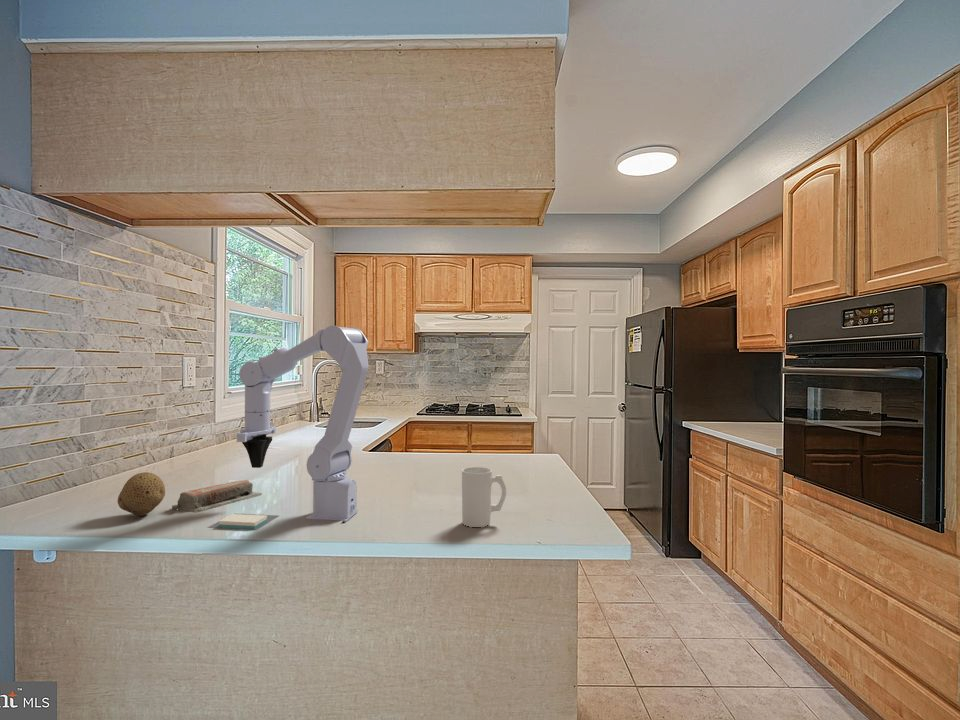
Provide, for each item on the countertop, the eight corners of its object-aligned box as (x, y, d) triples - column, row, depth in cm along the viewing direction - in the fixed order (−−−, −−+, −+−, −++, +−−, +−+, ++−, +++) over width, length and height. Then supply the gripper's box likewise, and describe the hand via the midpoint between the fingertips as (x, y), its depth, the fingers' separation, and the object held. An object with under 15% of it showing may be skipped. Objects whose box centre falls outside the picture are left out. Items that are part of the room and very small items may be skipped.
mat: (279, 518, 120) (279, 515, 120) (256, 532, 110) (256, 529, 110) (234, 516, 122) (234, 513, 122) (207, 530, 112) (207, 527, 112)
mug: (461, 528, 114) (461, 473, 114) (461, 519, 121) (461, 466, 121) (507, 528, 115) (507, 473, 115) (504, 518, 122) (505, 467, 122)
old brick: (197, 496, 122) (171, 490, 127) (197, 517, 122) (171, 510, 127) (262, 480, 138) (237, 476, 143) (262, 499, 138) (237, 494, 143)
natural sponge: (171, 515, 121) (172, 472, 121) (127, 524, 115) (127, 479, 114) (157, 508, 127) (157, 466, 127) (113, 516, 120) (114, 472, 120)
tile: (267, 515, 116) (254, 522, 111) (267, 521, 116) (254, 529, 111) (232, 513, 117) (219, 520, 112) (232, 520, 117) (219, 527, 112)
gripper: (257, 408, 136) (257, 460, 136) (224, 414, 121) (224, 473, 122) (283, 408, 135) (283, 461, 135) (253, 414, 121) (252, 474, 121)
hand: (257, 467), depth 128 cm, fingers closed
